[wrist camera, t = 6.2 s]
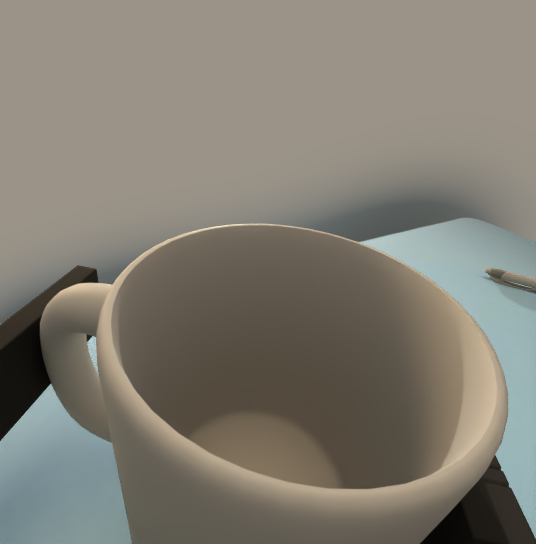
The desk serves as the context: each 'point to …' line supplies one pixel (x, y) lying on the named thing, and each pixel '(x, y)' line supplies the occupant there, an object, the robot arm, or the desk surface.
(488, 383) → the mug
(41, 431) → the desk surface
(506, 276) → the pen
